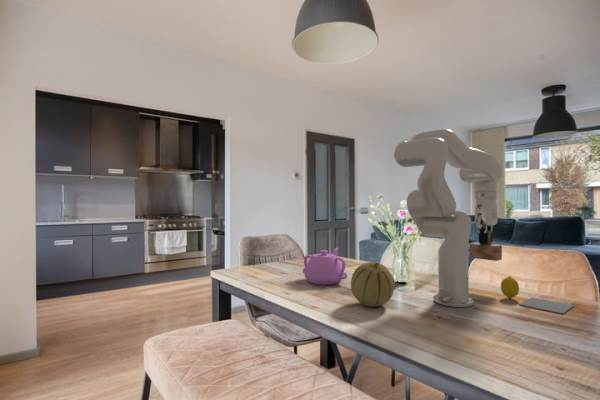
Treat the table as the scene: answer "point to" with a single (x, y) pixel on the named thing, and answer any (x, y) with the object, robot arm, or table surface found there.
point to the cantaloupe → (372, 284)
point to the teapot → (324, 268)
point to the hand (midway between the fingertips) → (485, 242)
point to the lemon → (509, 287)
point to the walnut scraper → (486, 250)
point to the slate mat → (547, 305)
